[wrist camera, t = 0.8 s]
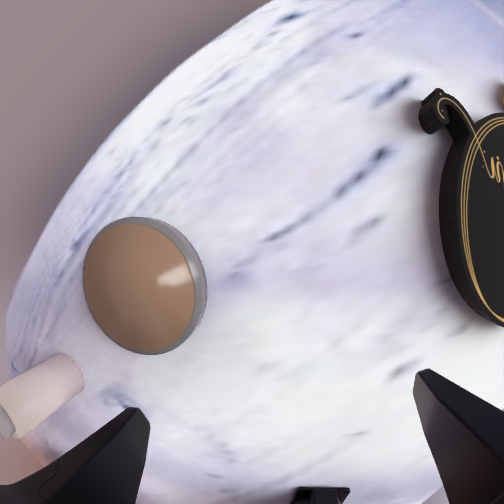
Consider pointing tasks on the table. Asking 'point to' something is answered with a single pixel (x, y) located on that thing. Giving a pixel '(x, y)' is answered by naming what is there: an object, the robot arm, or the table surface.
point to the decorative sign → (471, 202)
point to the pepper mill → (38, 394)
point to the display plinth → (144, 285)
